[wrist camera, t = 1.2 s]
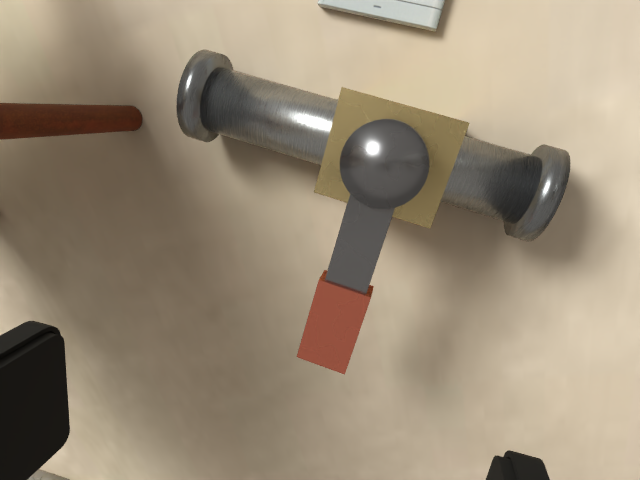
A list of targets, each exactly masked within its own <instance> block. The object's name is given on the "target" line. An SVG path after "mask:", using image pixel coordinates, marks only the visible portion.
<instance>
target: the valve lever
mask: <svg viewBox="0 0 640 480" xmlns="http://www.w3.org/2000/svg"><path fill="white" fill-rule="evenodd" d="M428 172H429V154H428V151H427V147H426V144H425V142H424V140H423V138H422V137H421V135H420V134H419V133H418V132H417V131H416V130H415V129H414V128H413V127H412V126H410V125H409V124H407V123H405V122H402V121H399V120H395V119H380V120H375V121H371V122H368V123H366V124H364V125H362V126H361V127H359V128H358V129H357V130H355V131H354V132H353V133H352V134H351V136H350V137H349V138H348V140H347V141H346V143H345V145H344V147H343V149H342V152H341V156H340V173H341V178H342V181H343V183H344V185H345V187H346V189H347V190H348V192H349V193H350V196H349V200H348V203H347V207H346V210H345V213H344V217H343V220H342V224H341V227H340V230H339V234H338V237H337V241H336V244H335V247H334V251H333V254H332V258H331V261H330V264H329V268H328V271H326V270H324V272H323V274H322V276H321V277H320V279H319V281H318V285H317V288H316V292H315V295H314V299H313V302H312V306H311V309H310V312H309V316H308V319H307V323H306V326H305V330H304V333H303V337H302V340H301V343H300V347H299V350H298V354H297V357H298V358H301V359H304V360H306V361H309V362H312V363H315V364H317V365H320V366H323V367H326V368H328V369H331V370H334V371H337V372H339V373H342V374H345V372H346V369H347V366H348V363H349V360H350V357H351V354H352V352H353V349H354V346H355V343H356V340H357V337H358V334H359V331H360V328H361V325H362V322H363V319H364V316H365V313H366V310H367V308H368V305H369V302H370V299H371V295H372V291H373V287H374V286H371V285H369V284H370V281H371V278H372V275H373V272H374V269H375V266H376V263H377V260H378V257H379V254H380V251H381V248H382V245H383V242H384V239H385V236H386V233H387V230H388V227H389V224H390V221H391V218H392V215H393V212H394V209H395V207H399V206H401V205H403V204H405V203H407V202H409V201H410V200H411V199H413V198H414V197H415V196H416V195H417V194H418V193H419V192H420V190H421V189H422V187H423V186H424V184H425V182H426V179H427V176H428Z"/></svg>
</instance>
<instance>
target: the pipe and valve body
mask: <svg viewBox="0 0 640 480" xmlns="http://www.w3.org/2000/svg"><path fill="white" fill-rule="evenodd" d="M177 117H178V122H179V125H180V128H181V130H182V131H183V133H184V134H185V135H186V136H188V137H191V138H194V139H198V140H201V141H204V142H210V141H212V140H214V139H215V138H216V137H217V136H218V135H219V134H220V135H223V136H227V137H230V138H233V139H237V140H240V141H243V142H246V143H250V144H253V145H256V146H260V147H263V148H266V149H269V150H273V151H276V152H279V153H283V154H286V155H289V156H292V157H296V158H299V159H302V160H305V161H309V162H312V163H315V164H319V165H321V168H320V171H319V175H318V179H317V183H316V186H315V190H314V192H315V193H318V194H321V195H324V196H327V197H331V198H334V199H337V200H340V201H343V202H347V203H348V200H349V196H350V193H349V192H348V190H347V189H346V187H345V185H344V183H343V181H342V178H341V173H340V156H341V152H342V149H343V147H344V145H345V143H346V141H347V140H348V138H349V137H350V136H351V134H352V133H353V132H354V131H355V130H357V129H358V128H359V127H361V126H362V125H364V124H366V123H368V122H371V121H375V120H380V119H395V120H399V121H402V122H405V123H407V124H409V125H410V126H412V127H413V128H414V129H415V130H416V131H417V132H418V133H419V134H420V135H421V137H422V138H423V140H424V142H425V144H426V147H427V151H428V154H429V172H428V176H427V179H426V182H425V184H424V186H423V187H422V189H421V190H420V192H419V193H418V194H417V195H416V196H415V197H414V198H413V199H411V200H410V201H409V202H407V203H405V204H403V205H401V206H399V207H395V209H394V212H393V215H392V217H394V218H398V219H401V220H404V221H407V222H410V223H414V224H417V225H420V226H423V227H426V228H429V229H430V228H431V225H432V223H433V220H434V217H435V215H436V212H437V209H438V207H439V204H440V202H443V203H446V204H450V205H453V206H456V207H460V208H463V209H466V210H469V211H473V212H476V213H479V214H483V215H486V216H489V217H492V218H496V219H499V220H502V221H504V229H505V233H506V234H507V235H509V236H512V237H515V238H518V239H522V240H525V241H532V240H534V239H536V238H537V237H538V236H539V235H540V234H541V233H542V232H543V231H544V229H545V228H546V227H547V225H548V224H549V222H550V221H551V219H552V218H553V216H554V214H555V212H556V210H557V208H558V206H559V204H560V202H561V199H562V197H563V194H564V192H565V189H566V185H567V182H568V178H569V172H570V156H569V153H568V152H567V151H565V150H562V149H559V148H555V147H552V146H548V145H541V146H539V147H538V148H537V149H536V150H535V151H534V152H533V153H532V154H531V155H530V154H526V153H522V152H519V151H515V150H512V149H508V148H505V147H501V146H498V145H494V144H491V143H487V142H484V141H480V140H477V139H473V138H470V137H466V136H465V134H466V131H467V128H468V126H469V123H468V122H464V121H461V120H457V119H454V118H450V117H446V116H443V115H439V114H436V113H432V112H429V111H425V110H421V109H418V108H414V107H411V106H407V105H404V104H400V103H396V102H393V101H389V100H386V99H382V98H378V97H375V96H371V95H368V94H364V93H361V92H357V91H353V90H350V89H346V88H343V87H342V88H341V92H340V96H339V100H336V99H332V98H329V97H325V96H322V95H318V94H315V93H311V92H308V91H304V90H301V89H297V88H294V87H290V86H286V85H283V84H279V83H276V82H272V81H269V80H265V79H262V78H258V77H255V76H251V75H248V74H244V73H241V72H237V71H234V70H233V67H232V64H231V62H230V60H229V59H228V57H227V56H225V55H223V54H219V53H216V52H212V51H209V50H201V51H198V52H197V53H195V54H194V55H193V56H192V58H191V59H190V60H189V62H188V63H187V65H186V67H185V69H184V72H183V74H182V77H181V80H180V84H179V88H178V94H177Z"/></svg>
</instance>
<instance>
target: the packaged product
mask: <svg viewBox="0 0 640 480" xmlns="http://www.w3.org/2000/svg"><path fill="white" fill-rule="evenodd" d="M27 480H69V479H66V478H63V477H61V476H58V475H55V474H52V473H49V472H45V471H42V470H39V469H38V470H37V471H36V472H35V473H34V474H33V475H32V476H31V477H30V478H28V479H27Z"/></svg>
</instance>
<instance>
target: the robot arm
mask: <svg viewBox="0 0 640 480" xmlns="http://www.w3.org/2000/svg"><path fill="white" fill-rule="evenodd" d="M69 432H70V426H69V410H68V394H67V378H66V362H65V346H64V339H63V337H62V336H61V335H60V331H59V330H58V328H56V327H54V326H50V325H46V324H43V323H39V322H35V321H28V322H25V323H23V324H21V325H19V326H17V327H15V328H14V329H12V330H10V331H8V332H6V333H4V334H2V335H1V336H0V480H27V479H28V478H30V477H31V476H32V475H33V474H34V473H35V472H36V471H37V470H38V469H39V468H40V467H41V466H42V465H43V464H45V463H46V462H47V461H48V460H49V459H50V458H51V457H52V456H53V455H54V454H55V453H56V452H57V451H58V450H59V449H61V447H62V446H63V445H64V444H65V442H66V440H67V438H68V436H69ZM486 480H550V479H549V476H548V474H547V471H546V468H545V465H544V463H543V461H542V460H541V459H539V458H536V457H532V456H528V455H524V454H521V453H517V452H513V451H507V452H506V453H505V455H504V457H500V456H495V457H494V458H493V460H492V463H491V466H490V469H489V472H488V475H487V478H486Z"/></svg>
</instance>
